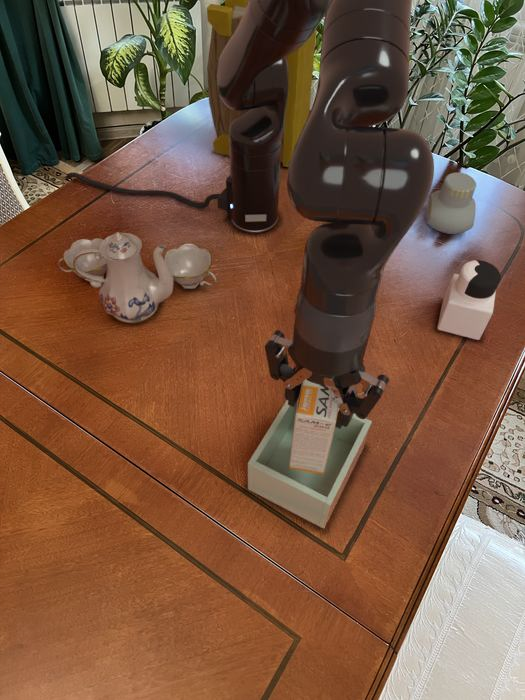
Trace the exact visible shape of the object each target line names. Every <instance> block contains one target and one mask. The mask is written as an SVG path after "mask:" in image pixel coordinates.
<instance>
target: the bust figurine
mask: <svg viewBox="0 0 525 700" xmlns="http://www.w3.org/2000/svg"><path fill="white" fill-rule="evenodd" d="M501 278H502V275H501V272H500V271H499V269H498V268H497V266H495V265H494V264H492V263H490V262H489V261H486V260H482V259H481V260H480V259H473V260H470V261H467V262H466V263H464V264H463V266H462V267H461V270H460V272H459V274H458V273H453V275H452V277H451V279H450V281H449V284H448V287H447V289H446V292H445V294H444V297H443V300H442V304H441V308H440V312H439V318H438V322H437V330H438V331H441V332H445V333H450V334H454V335H457V336H461V337H465V338H469V339H472V340H477V341H479V340H480V339H481V338H482V336H483V333H484V331H485V330H486V328H487V326H488V324H489V322H490V320H491V318H492V316H493V314H494V309H495V308H494V307H495V301H496V300H495V299H496V293H497V289H498V286H499V284H500V283H501V280H502V279H501Z"/></svg>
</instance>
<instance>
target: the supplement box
mask: <svg viewBox="0 0 525 700" xmlns="http://www.w3.org/2000/svg"><path fill="white" fill-rule="evenodd" d="M338 408H339V406H338V404H337V403H336V402H334V401H333V399H332V396H331V394H330V391H329V390H328V389H325V388H324V387H322V386H321V385H319V384H315V383H312V382H310V381H307V380H304V381H303V382H302V385H301V390H300V395H299V400H298V405H297V409H296V414H295V422H294V431H293V439H292V447H291V454H290V462H289V468H290V469H296V470H301V471H306V472H311V473H316V474H321V475H323V473H324V470H325V466H326V462H327V458H328V454H329V450H330V446H331V442H332V438H333V434H334V429H335V424H336V419H337V414H338Z"/></svg>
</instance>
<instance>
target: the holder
mask: <svg viewBox="0 0 525 700" xmlns="http://www.w3.org/2000/svg"><path fill="white" fill-rule="evenodd" d="M298 400H299V399H298ZM298 400H297V402H296V404H295V405H294V407H292V406H290V405H288V400H286V401H285V402H284V404H283V405H282V407H281V408H280V410H279V412H278V414H277V415H276V417H275V419H274V420H273V421H272V423H271V424H270V426H269V428H268V430H267V431H266V433H265V435H264V436H263V438H262V440H261V441H260V443H259V444H258V446H257V447H256V449H255V450H254V452H253V454H252V455H251V457H250V459H249V460H248V462H247V490H249V491H250V492H252V493H254V494H256V495H258V496H260V497H262V498H264V499H266V500H267V501H270V502H271V503H273V504H275V505H277V506H279V507H281V508H282V509H285V510H286V511H289V512H291V513H293V514H294V515H297V516H299V517H300V518H302V519H304V520H305V521H308V522H309V523H311V524H314V525H316V526H317V527H319V528H321V529H323V530H324V529H325V528H326V526H327V524H328V522H329V520H330V518H331V516H332V513H333V512H334V509H335V507H336V505H337V504H338V502H339V499H340V498H341V496H342V493H343V491H344V489H345V487H346V485H347V483H348V481H349V479H350V477H351V475H352V473H353V470H354V469H355V467H356V464H357V463H358V460H359V459H360V457H361V454H362V452H363V450H364V448H365V444H366V442H367V439H368V435H369V433H370V429H371V427H372V424H373V421H372V420H370V419H368V418H367V417H366V418H365V419H360V418H358V417H357V416H356V414H353V417H352V419H351V421H350V423H349V424H348V426H347V427H344V426H342V427H341V429H339V428H337V427H335V429H334V434H333V438H332V442H331V446H330V450H329V454H328V458H327V462H326V466H325V470H324V473H323V475H321V474H316V473H311V472H306V471H301V470H296V469H290V468H289V462H290V454H291V447H292V439H293V431H294V422H295V414H296V409H297V405H298ZM338 411H339V408H338ZM337 415H338V414H337ZM336 420H337V419H336Z"/></svg>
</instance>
